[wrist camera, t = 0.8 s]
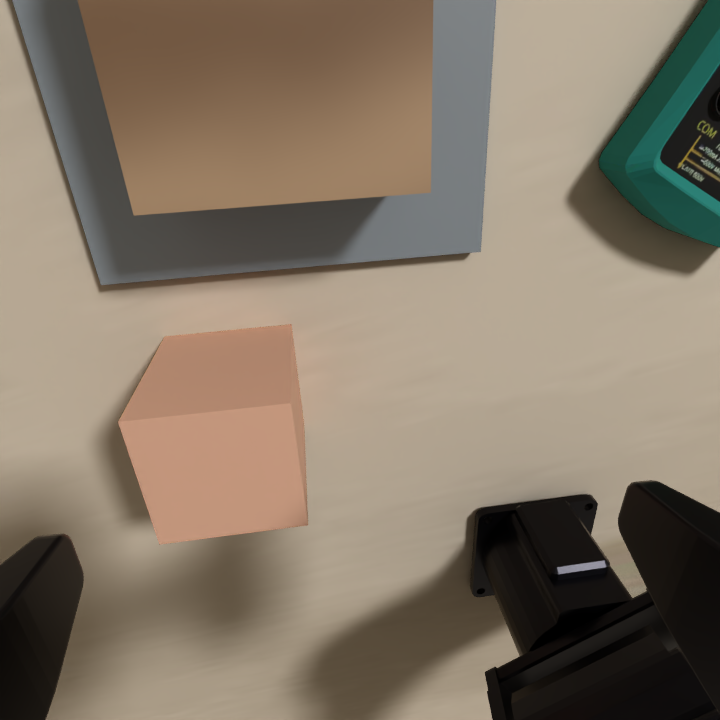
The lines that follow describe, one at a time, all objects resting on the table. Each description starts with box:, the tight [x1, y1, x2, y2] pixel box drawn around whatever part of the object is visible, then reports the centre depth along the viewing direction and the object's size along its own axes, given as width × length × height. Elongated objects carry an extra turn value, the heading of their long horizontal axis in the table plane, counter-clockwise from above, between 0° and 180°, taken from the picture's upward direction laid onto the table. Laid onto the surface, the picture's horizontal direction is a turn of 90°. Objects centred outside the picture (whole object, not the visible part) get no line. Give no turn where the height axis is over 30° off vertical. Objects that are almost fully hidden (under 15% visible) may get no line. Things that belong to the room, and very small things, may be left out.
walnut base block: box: [78, 0, 433, 216], centre depth 13 cm, size 8×8×4 cm
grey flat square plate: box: [12, 0, 496, 285], centre depth 15 cm, size 14×14×1 cm
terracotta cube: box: [118, 324, 308, 544], centre depth 18 cm, size 5×5×6 cm
